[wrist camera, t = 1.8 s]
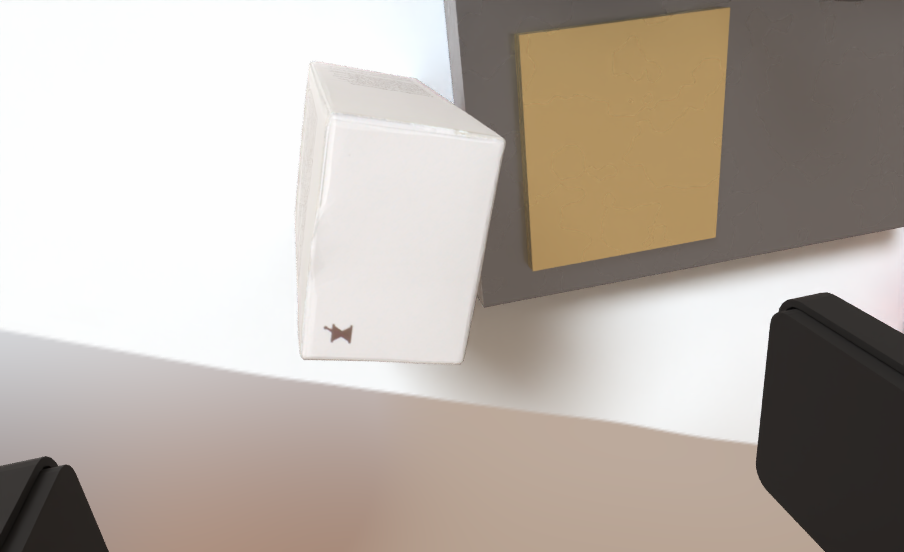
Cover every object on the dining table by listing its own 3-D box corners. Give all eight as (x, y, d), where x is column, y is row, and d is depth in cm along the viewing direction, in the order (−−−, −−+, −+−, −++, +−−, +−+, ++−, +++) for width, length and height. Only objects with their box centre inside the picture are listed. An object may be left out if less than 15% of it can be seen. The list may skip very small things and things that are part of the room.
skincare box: (398, 224, 28) (464, 374, 17) (293, 213, 27) (293, 366, 16) (422, 73, 26) (513, 138, 15) (308, 54, 25) (319, 110, 14)
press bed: (937, -179, 26) (1272, -262, 17) (873, 212, 33) (1090, 299, 24) (430, -132, 23) (516, -203, 14) (472, 287, 30) (549, 419, 21)
